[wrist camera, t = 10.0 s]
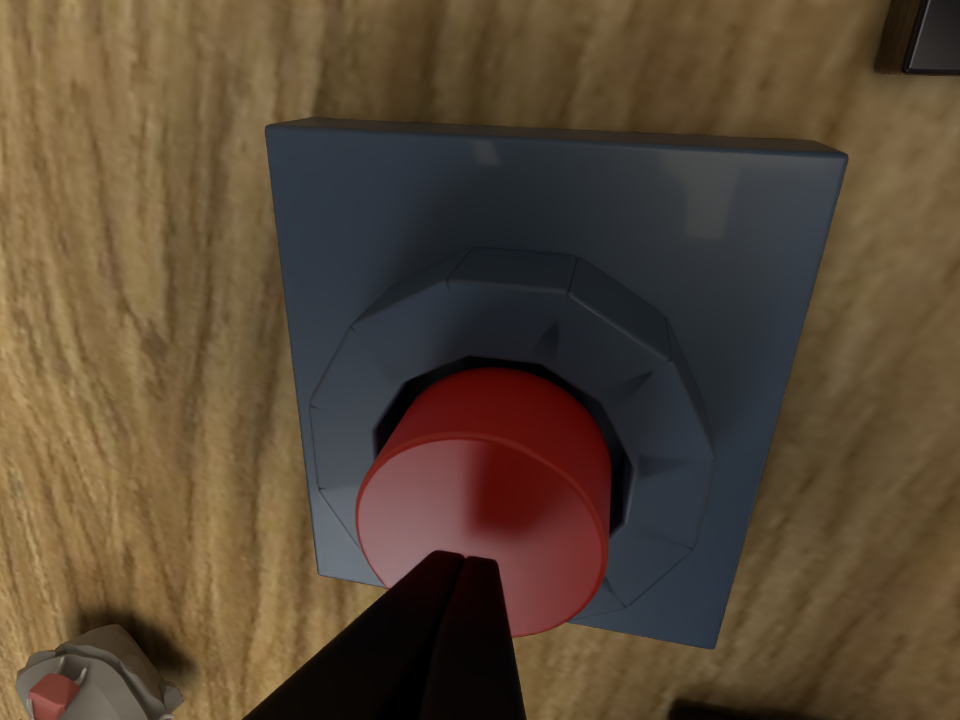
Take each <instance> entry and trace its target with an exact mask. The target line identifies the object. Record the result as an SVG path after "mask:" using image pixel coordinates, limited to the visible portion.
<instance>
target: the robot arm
mask: <svg viewBox="0 0 960 720" xmlns="http://www.w3.org/2000/svg"><path fill="white" fill-rule="evenodd" d="M242 720H527V719H526V714H525V708H524V703H523V697H522V692H521V686H520V681H519V675H518V670H517V664H516V659H515V653H514V648H513V642H512V637H511V631H510V626H509V620H508V615H507V609H506V604H505V598H504V593H503V587H502V582H501V576H500V571H499V565H498V563H497V561H496V560H494V559H490V558H484V557H478V556H473V555H470V556H468V557H467V558H466V559H465V556H463V555H462V554H461V553H455V552H450V551H444V550H435V551H432V552H431V553H430V554H429V555H428V556H426V557H425V558H424V559H423V560H422V561H421V562H420V563H419V564H417V565H416V566H415V567H414V568H413V569H412V570H411V571H409V572H408V573H407V574H406V575H405V576H404V577H403V578H402V579H400V580H399V581H398V582H397V583H396V584H395V585H394V586H393V587H391V588H390V589H389V590H388V591H387V592H386V593H385V594H383V595H382V596H381V597H380V598H379V599H378V600H377V601H376V602H374V603H373V604H372V605H371V606H370V607H369V608H368V609H366V610H365V611H364V612H363V613H362V614H361V615H360V616H359V617H357V618H356V619H355V620H354V621H353V622H352V623H351V624H349V625H348V626H347V627H346V628H345V629H344V630H343V631H342V632H340V633H339V634H338V635H337V636H336V637H335V638H334V639H333V640H331V641H330V642H329V643H328V644H327V645H326V646H325V647H323V648H322V649H321V650H320V651H319V652H318V653H317V654H316V655H314V656H313V657H312V658H311V659H310V660H309V661H308V662H306V663H305V664H304V665H303V666H302V667H301V668H300V669H299V670H297V671H296V672H295V673H294V674H293V675H292V676H291V677H290V678H288V679H287V680H286V681H285V682H284V683H283V684H282V685H280V686H279V687H278V688H277V689H276V690H275V691H274V692H273V693H271V694H270V695H269V696H268V697H267V698H266V699H265V700H263V701H262V702H261V703H260V704H259V705H258V706H257V707H256V708H254V709H253V710H252V711H251V712H250V713H249V714H248V715H246V716H245V717H244V718H243V719H242ZM666 720H752V719H747V718H742V717H737V716H733V715H728V714H723V713H718V712H713V711H708V710H704V709H699V708H694V707H687V706H681V707H676V708H674V709H672V710H670V712H669V713H668V715H667V719H666Z"/></svg>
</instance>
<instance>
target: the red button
mask: <svg viewBox="0 0 960 720" xmlns="http://www.w3.org/2000/svg"><path fill="white" fill-rule="evenodd" d="M611 473H612V468H611V457H610V453H609V449H608V445H607V442H606V440H605V438H604V435H603V433H602V431H601V429H600V428H599V426H598V424H597V423H596V421H595V419H594V418H593V417H592V416H591V414H590V413H589V412H588V411H587V409H586V408H585V407H584V406H583V405H582V404H581V403H580V402H579V401H577V400H576V399H575V398H574V397H573V396H572V395H570V394H569V393H568V392H566V391H565V390H564V389H562V388H561V387H559V386H557V385H556V384H554V383H552V382H550V381H549V380H546V379H544V378H542V377H539V376H537V375H534V374H531V373H528V372H524V371H521V370H516V369H510V368H500V367H483V368H474V369H469V370H463V371H460V372H457V373H454V374H451V375H448V376H446V377H444V378H442V379H440V380H438V381H436V382H435V383H433V384H432V385H430V386H429V387H427V388H426V389H425V390H424V391H423V392H422V393H421V394H419V395H418V396H417V397H416V399H415V400H414V401H413V403H412V404H411V405H410V406H409V408H408V410H407V411H406V413H405V414H404V416H403V417H402V419H401V420H400V422H399V424H398V425H397V427H396V428H395V430H394V431H393V433H392V434H391V436H390V438H389V439H388V441H387V442H386V444H385V445H384V447H383V449H382V450H381V452H380V453H379V455H378V456H377V458H376V459H375V461H374V463H373V464H372V466H371V467H370V469H369V470H368V472H367V474H366V476H365V477H364V479H363V481H362V483H361V486H360V489H359V492H358V495H357V500H356V507H355V524H356V531H357V537H358V540H359V543H360V546H361V549H362V552H363V554H364V556H365V558H366V560H367V562H368V564H369V565H370V567H371V569H372V570H373V572H374V573H375V575H376V576H377V577H378V578H379V580H380V581H381V582H382V583H383V585H384V586H385V587H386V588H387V589H388V590H389V589H390V588H391V587H393V586H394V585H395V584H396V583H397V582H398V581H399V580H400V579H402V578H403V577H404V576H405V575H406V574H407V573H408V572H409V571H411V570H412V569H413V568H414V567H415V566H416V565H417V564H419V563H420V562H421V561H422V560H423V559H424V558H425V557H426V556H428V555H429V554H430V553H431V552H432V551H435V550H444V551H450V552H455V553H461V554H462V555H463V556H465V559H466V558H467V557H468V556H470V555H473V556H478V557H484V558H490V559H494V560H496V561H497V563H498V565H499V571H500V576H501V582H502V587H503V593H504V598H505V604H506V609H507V615H508V620H509V626H510V631H511V637H522V636H528V635H534V634H537V633H541V632H545V631H548V630H550V629H553V628H555V627H558V626H560V625H561V624H563V623H565V622H567V621H568V620H570V619H572V618H573V617H574V616H575V615H577V614H578V613H579V612H581V611H582V610H583V609H584V607H585V606H586V605H587V604H588V603H589V602H590V601H591V600H592V598H593V597H594V595H595V594H596V592H597V591H598V589H599V587H600V585H601V583H602V581H603V578H604V576H605V572H606V568H607V564H608V548H609V523H610V498H611Z"/></svg>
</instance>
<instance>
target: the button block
mask: <svg viewBox="0 0 960 720" xmlns="http://www.w3.org/2000/svg"><path fill="white" fill-rule="evenodd" d="M265 137H266V146H267V154H268V162H269V171H270V179H271V187H272V196H273V204H274V212H275V221H276V229H277V237H278V246H279V254H280V263H281V271H282V279H283V288H284V296H285V304H286V313H287V321H288V329H289V338H290V346H291V354H292V363H293V371H294V379H295V388H296V396H297V404H298V413H299V421H300V429H301V438H302V446H303V455H304V463H305V471H306V480H307V488H308V496H309V505H310V513H311V521H312V530H313V538H314V546H315V555H316V563H317V571H318V574H319V575H321V576H326V577H331V578H336V579H342V580H347V581H352V582H357V583H363V584H368V585H373V586H379V587H384V588H386V587H385V586H384V585H383V583H382V582H381V581H380V580H379V578H378V577H377V576H376V575H375V573H374V572H373V570H372V569H371V567H370V565H369V564H368V562H367V560H366V558H365V556H364V554H363V552H362V549H361V546H360V543H359V540H358V537H357V531H356V524H355V507H356V500H357V495H358V492H359V489H360V486H361V483H362V481H363V479H364V477H365V476H366V474H367V472H368V470H369V469H370V467H371V466H372V464H373V463H374V461H375V459H376V458H377V456H378V455H379V453H380V452H381V450H382V449H383V447H384V445H385V444H386V442H387V441H388V439H389V438H390V436H391V434H392V433H393V431H394V430H395V428H396V427H397V425H398V424H399V422H400V420H401V419H402V417H403V416H404V414H405V413H406V411H407V410H408V408H409V406H410V405H411V404H412V403H413V401H414V400H415V399H416V397H417V396H418V395H419V394H421V393H422V392H423V391H424V390H425V389H426V388H427V387H429V386H430V385H432V384H433V383H435V382H436V381H438V380H440V379H442V378H444V377H446V376H448V375H451V374H454V373H457V372H460V371H463V370H469V369H474V368H483V367H500V368H510V369H516V370H521V371H524V372H528V373H531V374H534V375H537V376H539V377H542V378H544V379H546V380H549V381H550V382H552V383H554V384H556V385H557V386H559V387H561V388H562V389H564V390H565V391H566V392H568V393H569V394H570V395H572V396H573V397H574V398H575V399H576V400H577V401H579V402H580V403H581V404H582V405H583V406H584V407H585V408H586V409H587V411H588V412H589V413H590V414H591V416H592V417H593V418H594V419H595V421H596V423H597V424H598V426H599V428H600V429H601V431H602V433H603V435H604V438H605V440H606V442H607V445H608V449H609V453H610V457H611V468H612V473H611V498H610V523H609V548H608V564H607V568H606V572H605V576H604V578H603V581H602V583H601V585H600V587H599V589H598V591H597V592H596V594H595V595H594V597H593V598H592V600H591V601H590V602H589V603H588V604H587V605H586V606H585V607H584V609H583V610H582V611H581V612H579V613H578V614H577V615H575V616H574V617H573V618H572V619H570V620H568V621H567V622H568V623H574V624H579V625H584V626H589V627H595V628H600V629H605V630H611V631H616V632H621V633H626V634H632V635H637V636H642V637H647V638H653V639H658V640H663V641H669V642H674V643H679V644H684V645H690V646H695V647H700V648H705V649H714V648H715V646H716V643H717V639H718V636H719V632H720V628H721V625H722V621H723V617H724V614H725V610H726V606H727V603H728V599H729V595H730V592H731V588H732V584H733V581H734V577H735V573H736V570H737V566H738V562H739V559H740V555H741V551H742V548H743V544H744V540H745V537H746V533H747V529H748V526H749V522H750V518H751V515H752V511H753V507H754V504H755V500H756V497H757V493H758V489H759V486H760V482H761V478H762V475H763V471H764V467H765V464H766V460H767V456H768V453H769V449H770V445H771V442H772V438H773V434H774V431H775V427H776V423H777V420H778V416H779V412H780V409H781V405H782V401H783V398H784V394H785V390H786V387H787V383H788V379H789V376H790V372H791V368H792V365H793V361H794V357H795V354H796V350H797V346H798V343H799V339H800V335H801V332H802V328H803V324H804V321H805V317H806V313H807V310H808V306H809V302H810V299H811V295H812V292H813V288H814V284H815V281H816V277H817V273H818V270H819V266H820V262H821V259H822V255H823V251H824V248H825V244H826V240H827V237H828V233H829V229H830V226H831V222H832V218H833V215H834V211H835V207H836V204H837V200H838V196H839V193H840V189H841V185H842V182H843V178H844V174H845V171H846V167H847V163H848V154H846V153H844V152H841V151H839V150H836V149H834V148H831V147H829V146H826V145H824V144H821V143H819V142H816V141H809V140H787V139H765V138H744V137H722V136H700V135H679V134H657V133H636V132H614V131H592V130H571V129H549V128H527V127H506V126H484V125H462V124H441V123H419V122H397V121H376V120H354V119H332V118H305V119H299V120H292V121H286V122H280V123H274V124H269V125H267V126H266V127H265Z"/></svg>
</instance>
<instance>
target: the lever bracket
mask: <svg viewBox="0 0 960 720" xmlns="http://www.w3.org/2000/svg"><path fill="white" fill-rule="evenodd" d="M875 70H876V72H877V73H879V74H892V75H926V76H960V0H893V3H892V7H891V11H890V14H889V18H888V22H887V25H886V29H885V33H884V36H883V40H882V44H881V47H880V51H879V54H878V58H877V62H876V65H875Z"/></svg>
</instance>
